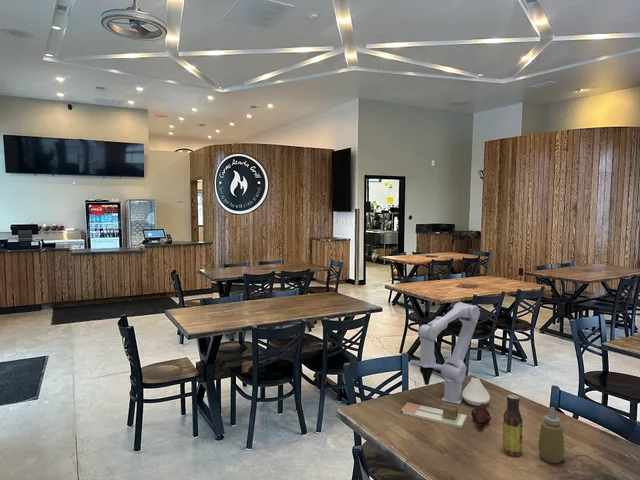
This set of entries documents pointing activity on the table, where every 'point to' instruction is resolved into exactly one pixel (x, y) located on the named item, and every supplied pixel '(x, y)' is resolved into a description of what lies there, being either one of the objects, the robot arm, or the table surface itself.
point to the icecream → (481, 415)
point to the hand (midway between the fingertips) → (426, 384)
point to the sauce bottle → (512, 427)
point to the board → (432, 414)
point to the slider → (450, 411)
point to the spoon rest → (475, 393)
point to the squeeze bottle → (551, 438)
